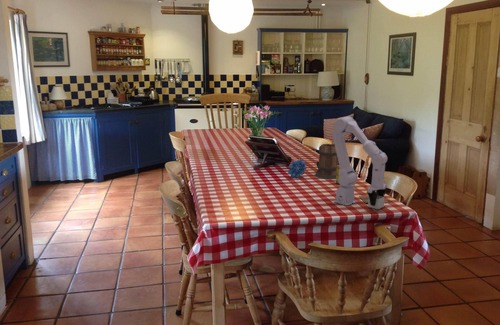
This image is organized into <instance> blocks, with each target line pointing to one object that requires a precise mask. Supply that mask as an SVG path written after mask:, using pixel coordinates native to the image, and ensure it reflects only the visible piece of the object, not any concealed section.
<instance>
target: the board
mask: <svg viewBox="0 0 500 325" xmlns="http://www.w3.org/2000/svg"><path fill="white" fill-rule="evenodd" d="M359 197H360V198H361V199H362V200H363V201H364V202H365V203H368V198H369V196H368V195H359V196H358V198H359ZM361 199H360V200H361ZM362 200H361V201H362ZM363 201H362V202H363ZM364 202H363V203H364ZM365 203H364V204H365ZM384 203H389V204H390V202H389V201H388V200H387V199H386V198H385V199H384Z"/></svg>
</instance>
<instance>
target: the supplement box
mask: <svg viewBox="0 0 500 325" xmlns="http://www.w3.org/2000/svg"><path fill="white" fill-rule="evenodd" d="M339 170H340V165H339V164H338V165H337V171H336V179H335V184H337V183H338V185H339V181H338V178H339V174H338V172H339Z"/></svg>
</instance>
